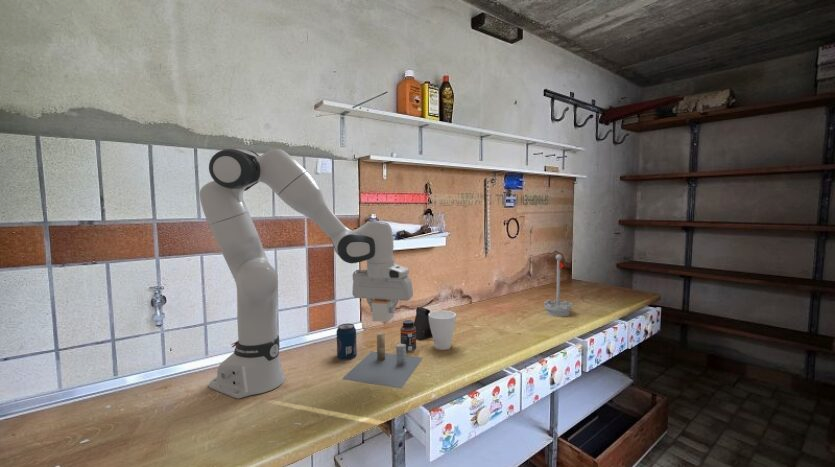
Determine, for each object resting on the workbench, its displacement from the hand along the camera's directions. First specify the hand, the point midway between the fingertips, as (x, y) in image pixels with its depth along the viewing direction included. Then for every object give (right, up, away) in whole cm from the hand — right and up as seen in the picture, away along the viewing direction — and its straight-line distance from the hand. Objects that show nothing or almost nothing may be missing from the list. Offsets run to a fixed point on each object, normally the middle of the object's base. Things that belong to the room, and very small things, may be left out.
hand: (382, 312), depth 115 cm
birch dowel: (-2, -19, +10) cm, 21 cm away
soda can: (-14, -20, +13) cm, 27 cm away
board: (0, -20, +3) cm, 20 cm away
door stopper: (+14, -18, +34) cm, 41 cm away
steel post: (+6, -19, +6) cm, 21 cm away
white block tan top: (0, -2, 0) cm, 2 cm away
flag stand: (+82, -15, +63) cm, 105 cm away
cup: (+21, -19, +20) cm, 35 cm away
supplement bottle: (+8, -19, +19) cm, 28 cm away
